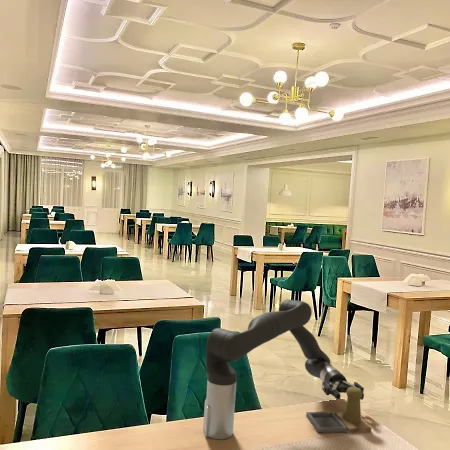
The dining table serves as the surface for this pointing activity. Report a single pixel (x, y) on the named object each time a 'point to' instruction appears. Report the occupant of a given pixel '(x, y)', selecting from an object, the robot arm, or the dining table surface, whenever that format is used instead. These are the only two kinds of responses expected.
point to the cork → (353, 405)
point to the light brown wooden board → (354, 424)
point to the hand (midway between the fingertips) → (351, 397)
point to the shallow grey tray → (326, 422)
